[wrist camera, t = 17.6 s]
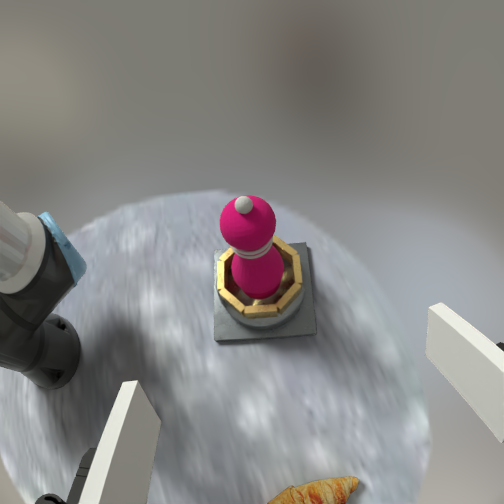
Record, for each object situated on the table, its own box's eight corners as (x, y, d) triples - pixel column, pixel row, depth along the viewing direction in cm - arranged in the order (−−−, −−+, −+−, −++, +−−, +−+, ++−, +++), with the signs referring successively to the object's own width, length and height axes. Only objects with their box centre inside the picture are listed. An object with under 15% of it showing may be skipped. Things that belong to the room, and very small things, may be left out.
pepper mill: (237, 259, 50) (208, 174, 32) (283, 257, 49) (278, 169, 31) (236, 303, 46) (202, 234, 29) (285, 301, 45) (282, 229, 28)
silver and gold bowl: (215, 341, 49) (202, 329, 42) (216, 253, 56) (205, 229, 49) (316, 334, 48) (321, 321, 41) (305, 245, 55) (307, 220, 48)
